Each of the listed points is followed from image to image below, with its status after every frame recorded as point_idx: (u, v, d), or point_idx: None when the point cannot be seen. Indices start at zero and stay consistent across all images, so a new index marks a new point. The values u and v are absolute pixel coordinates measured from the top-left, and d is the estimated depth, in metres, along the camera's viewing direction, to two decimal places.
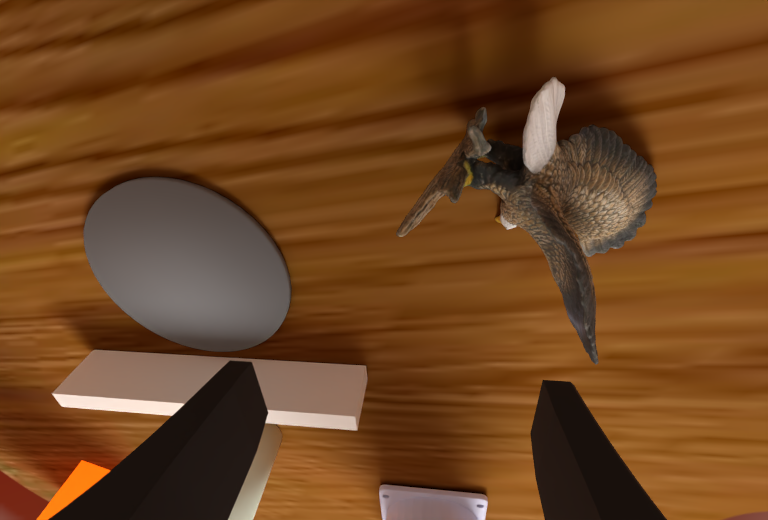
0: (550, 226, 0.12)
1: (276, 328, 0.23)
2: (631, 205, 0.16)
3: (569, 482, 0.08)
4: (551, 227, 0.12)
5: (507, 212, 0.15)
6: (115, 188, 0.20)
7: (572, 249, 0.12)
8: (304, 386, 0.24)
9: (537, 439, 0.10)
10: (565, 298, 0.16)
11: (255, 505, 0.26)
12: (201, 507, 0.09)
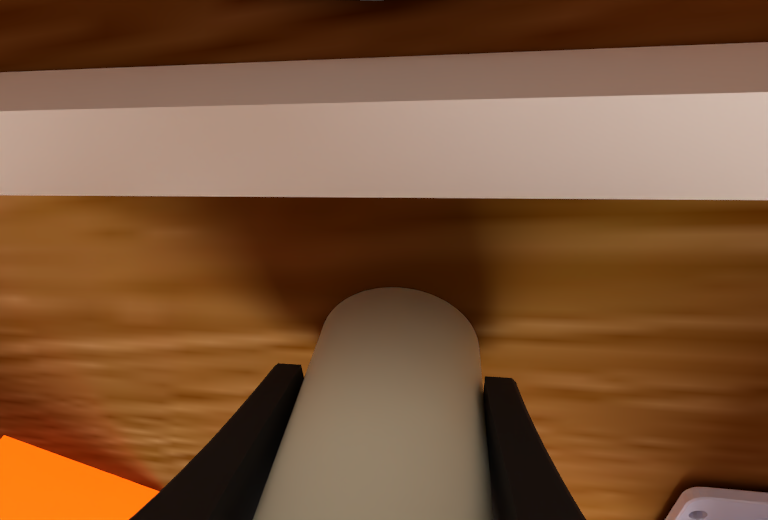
0: None
1: None
2: None
3: (498, 475, 0.08)
4: None
5: None
6: None
7: None
8: None
9: None
10: None
11: None
12: None
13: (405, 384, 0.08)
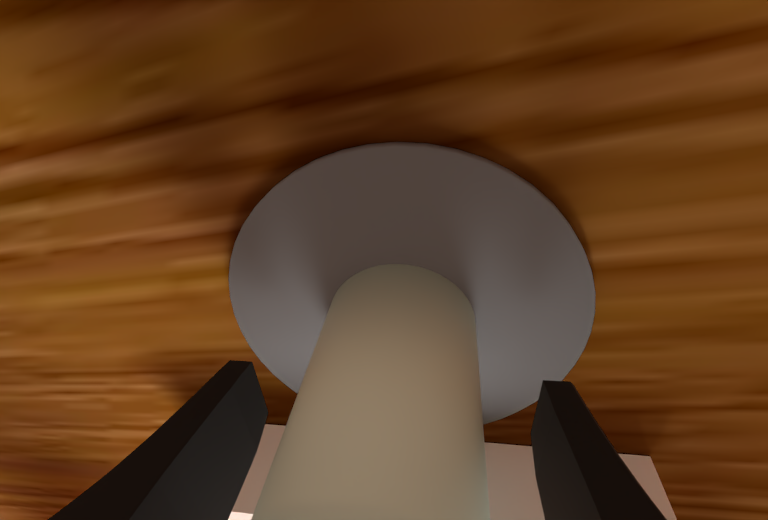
0: None
1: (529, 403, 0.14)
2: None
3: (569, 482, 0.08)
4: None
5: None
6: (319, 164, 0.10)
7: None
8: None
9: (537, 439, 0.10)
10: None
11: None
12: (201, 507, 0.09)
13: (409, 344, 0.09)
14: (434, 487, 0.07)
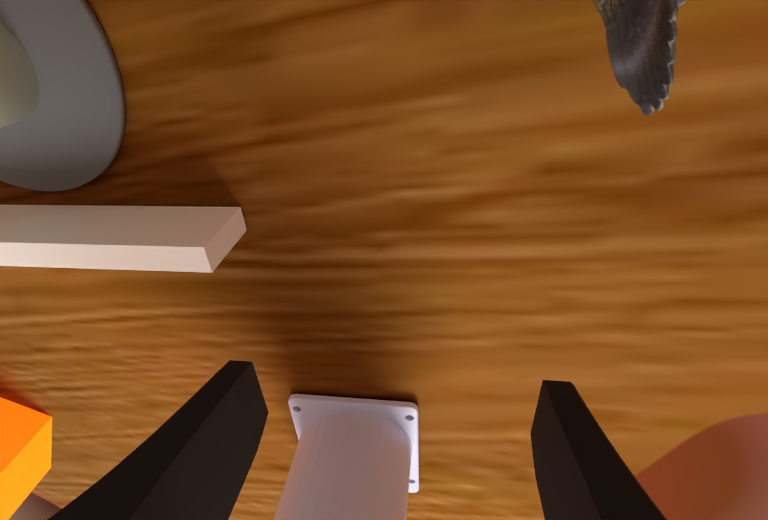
0: None
1: (113, 145, 0.18)
2: None
3: (569, 482, 0.08)
4: None
5: None
6: None
7: None
8: (152, 224, 0.18)
9: (537, 439, 0.10)
10: (612, 32, 0.11)
11: None
12: (201, 507, 0.09)
13: None
14: None
